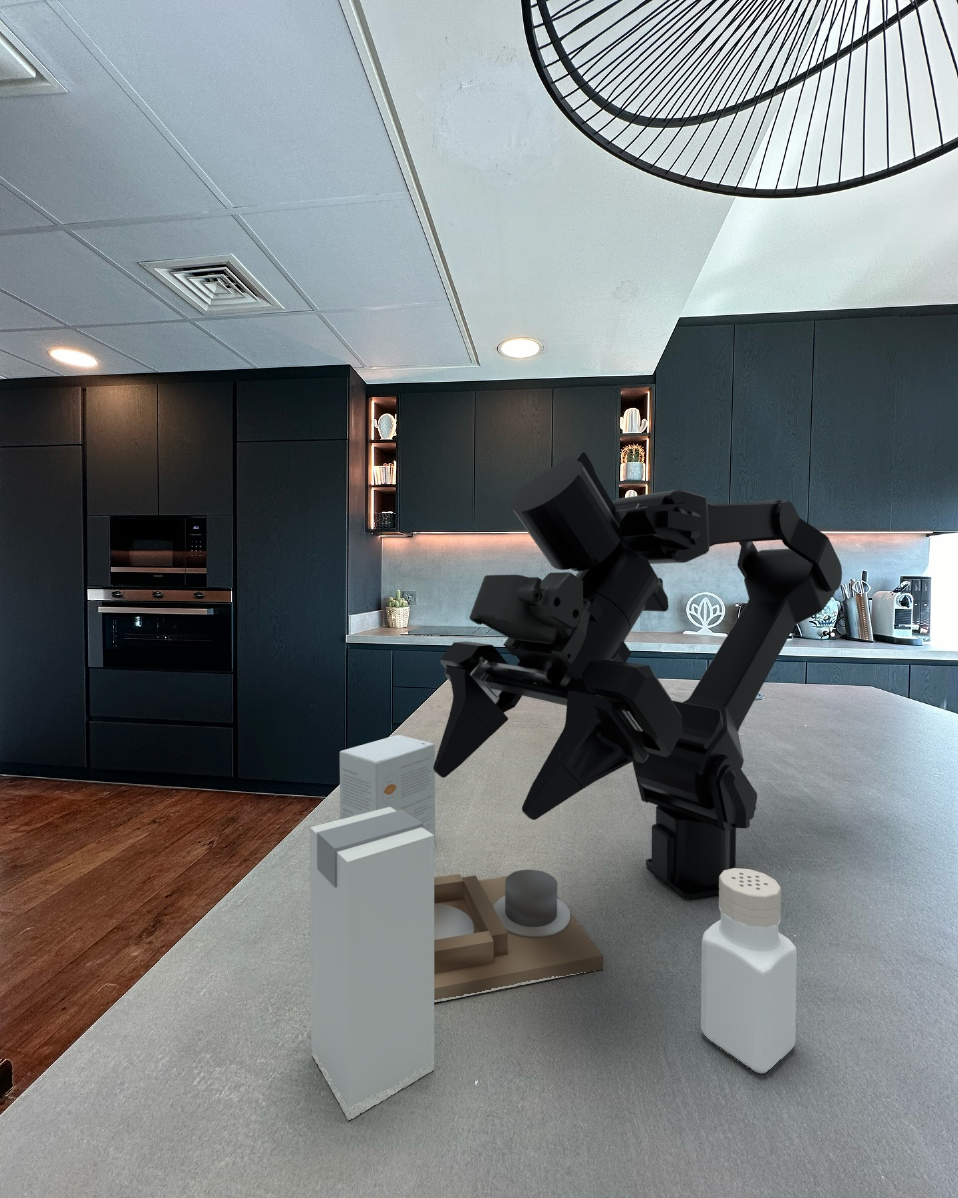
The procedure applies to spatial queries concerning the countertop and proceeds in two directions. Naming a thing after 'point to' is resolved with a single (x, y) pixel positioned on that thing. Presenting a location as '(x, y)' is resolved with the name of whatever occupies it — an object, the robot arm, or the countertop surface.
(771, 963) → the salt shaker
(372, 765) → the small box
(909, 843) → the countertop surface
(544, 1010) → the countertop surface
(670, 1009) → the countertop surface
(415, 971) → the tall white box
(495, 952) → the wooden holder board
